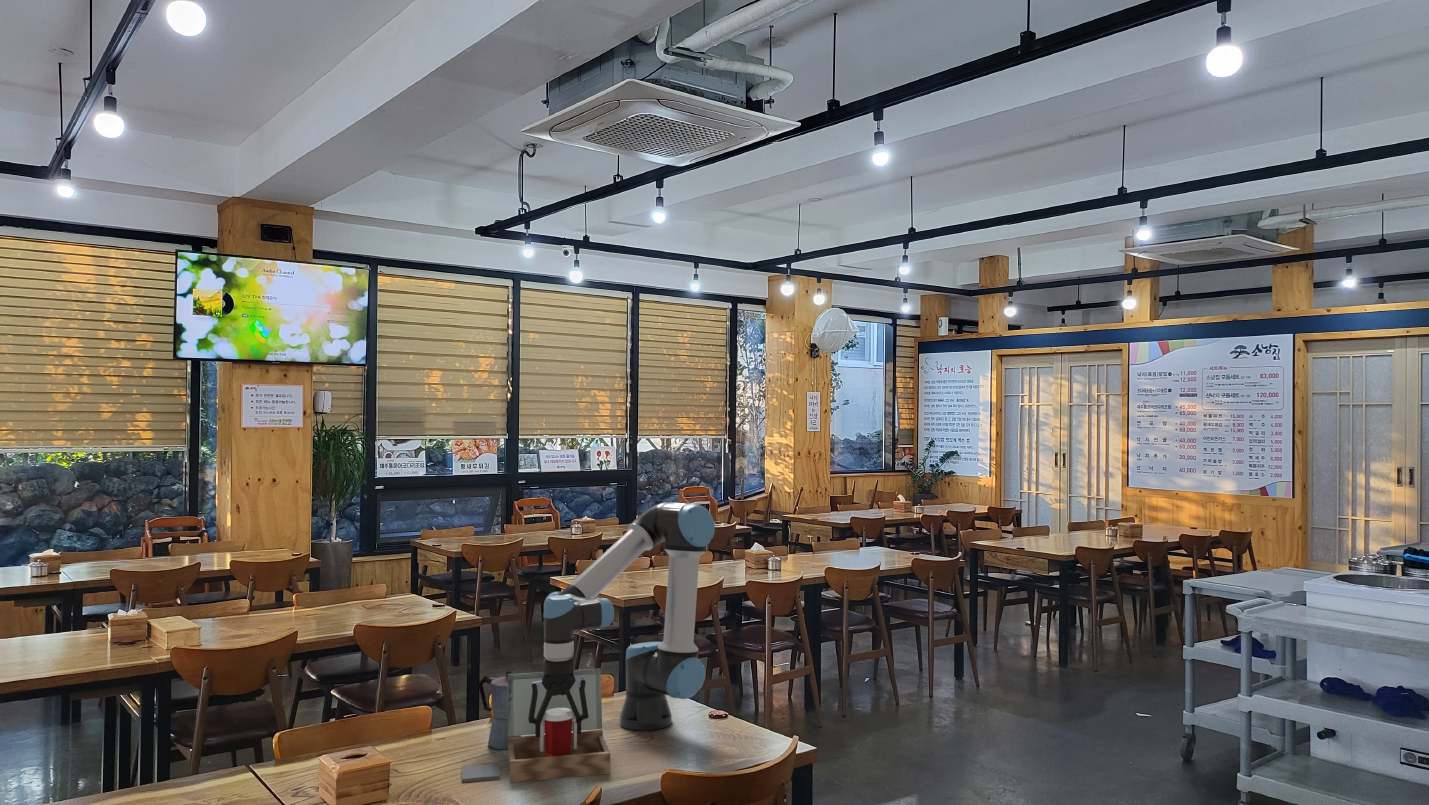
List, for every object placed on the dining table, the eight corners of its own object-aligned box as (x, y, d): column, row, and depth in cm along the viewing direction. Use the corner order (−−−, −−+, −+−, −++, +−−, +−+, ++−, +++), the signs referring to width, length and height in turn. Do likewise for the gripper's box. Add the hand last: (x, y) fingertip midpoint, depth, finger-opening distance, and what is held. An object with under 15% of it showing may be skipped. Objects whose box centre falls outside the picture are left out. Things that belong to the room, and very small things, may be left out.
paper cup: (579, 763, 236) (578, 708, 237) (564, 774, 229) (564, 717, 230) (552, 760, 239) (551, 705, 239) (536, 770, 232) (536, 714, 232)
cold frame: (602, 752, 244) (602, 730, 245) (610, 773, 230) (610, 749, 230) (507, 761, 238) (508, 737, 239) (510, 782, 223) (510, 757, 224)
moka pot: (522, 752, 245) (523, 676, 246) (468, 748, 248) (469, 673, 249) (536, 741, 254) (537, 667, 255) (484, 737, 257) (485, 665, 258)
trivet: (499, 766, 235) (499, 763, 235) (499, 778, 226) (500, 775, 226) (462, 769, 232) (462, 766, 232) (461, 782, 224) (461, 779, 224)
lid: (602, 728, 245) (601, 728, 246) (600, 668, 248) (600, 668, 249) (508, 736, 239) (507, 736, 240) (508, 674, 242) (507, 674, 243)
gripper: (597, 652, 241) (596, 740, 240) (516, 656, 236) (516, 747, 235) (600, 658, 234) (600, 749, 233) (518, 663, 229) (517, 757, 228)
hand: (558, 748), depth 234 cm, fingers closed on paper cup, 8 cm apart
